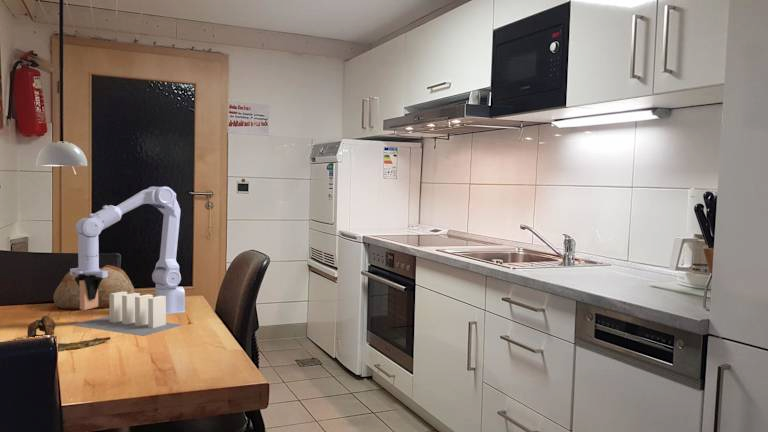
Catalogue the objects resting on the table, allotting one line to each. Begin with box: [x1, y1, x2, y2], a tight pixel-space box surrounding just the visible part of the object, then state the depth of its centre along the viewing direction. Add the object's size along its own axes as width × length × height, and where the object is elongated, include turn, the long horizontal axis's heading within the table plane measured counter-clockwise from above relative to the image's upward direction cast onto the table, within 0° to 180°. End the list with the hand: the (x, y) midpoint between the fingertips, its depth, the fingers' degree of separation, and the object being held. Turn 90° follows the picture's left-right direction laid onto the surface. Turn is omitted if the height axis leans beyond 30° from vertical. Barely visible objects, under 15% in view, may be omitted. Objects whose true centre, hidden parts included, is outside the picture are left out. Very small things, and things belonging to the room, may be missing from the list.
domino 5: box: [148, 296, 167, 328], centre depth 177 cm, size 2×5×9 cm, turn 156°
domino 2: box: [109, 292, 127, 322], centre depth 184 cm, size 2×5×9 cm, turn 156°
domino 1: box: [79, 280, 98, 311], centre depth 180 cm, size 2×5×9 cm, turn 160°
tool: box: [27, 315, 111, 352], centre depth 155 cm, size 23×6×30 cm
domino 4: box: [135, 294, 154, 326], centre depth 180 cm, size 2×5×9 cm, turn 156°
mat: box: [70, 315, 183, 337], centre depth 179 cm, size 31×16×1 cm, turn 66°
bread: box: [52, 264, 136, 310], centre depth 211 cm, size 26×23×15 cm
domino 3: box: [122, 292, 141, 324], centre depth 182 cm, size 2×5×9 cm, turn 156°
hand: (88, 298), depth 180 cm, fingers closed on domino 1, 2 cm apart
